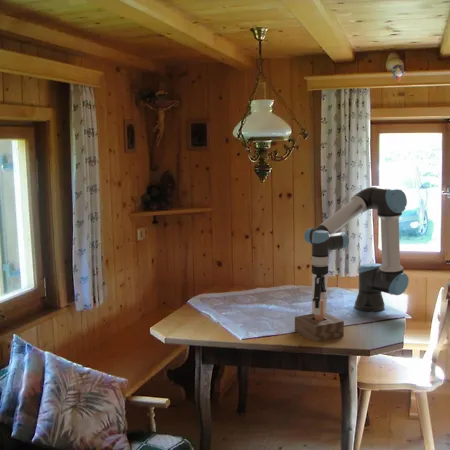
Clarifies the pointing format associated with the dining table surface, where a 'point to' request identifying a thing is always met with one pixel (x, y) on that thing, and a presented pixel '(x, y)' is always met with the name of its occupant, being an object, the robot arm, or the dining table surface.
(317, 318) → the peg
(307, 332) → the socket block
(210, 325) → the dining table surface
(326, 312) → the cylindrical container
